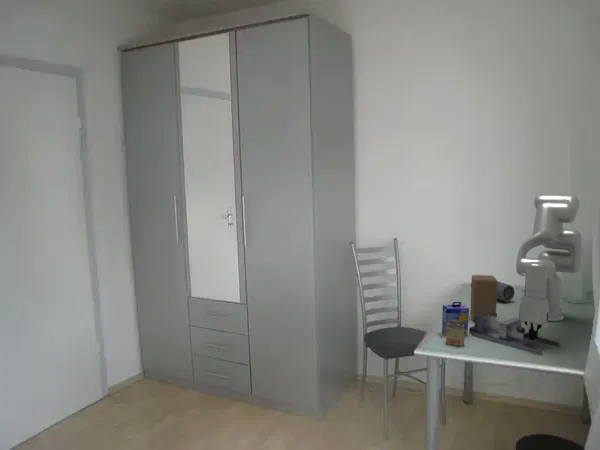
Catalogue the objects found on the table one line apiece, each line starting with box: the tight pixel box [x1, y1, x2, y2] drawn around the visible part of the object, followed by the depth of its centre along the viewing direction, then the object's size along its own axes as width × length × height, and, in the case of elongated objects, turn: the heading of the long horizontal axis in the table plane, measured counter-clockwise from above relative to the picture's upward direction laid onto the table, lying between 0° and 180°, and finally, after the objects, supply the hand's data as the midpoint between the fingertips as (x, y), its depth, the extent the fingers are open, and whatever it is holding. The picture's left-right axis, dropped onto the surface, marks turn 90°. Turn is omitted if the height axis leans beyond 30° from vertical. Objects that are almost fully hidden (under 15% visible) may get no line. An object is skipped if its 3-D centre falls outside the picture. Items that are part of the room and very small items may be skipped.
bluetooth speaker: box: [497, 280, 515, 302], centre depth 270 cm, size 23×9×10 cm, turn 25°
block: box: [469, 274, 498, 322], centre depth 232 cm, size 10×10×20 cm
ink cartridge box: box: [441, 301, 470, 337], centre depth 212 cm, size 10×6×14 cm, turn 95°
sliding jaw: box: [499, 316, 534, 346], centre depth 204 cm, size 12×9×8 cm
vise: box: [468, 311, 561, 356], centre depth 205 cm, size 16×31×8 cm, turn 39°
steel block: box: [486, 316, 507, 338], centre depth 210 cm, size 5×8×7 cm, turn 39°
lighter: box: [445, 319, 465, 347], centre depth 201 cm, size 7×4×10 cm, turn 57°
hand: (533, 339), depth 199 cm, fingers closed
